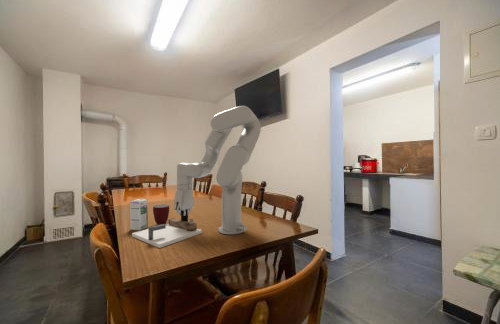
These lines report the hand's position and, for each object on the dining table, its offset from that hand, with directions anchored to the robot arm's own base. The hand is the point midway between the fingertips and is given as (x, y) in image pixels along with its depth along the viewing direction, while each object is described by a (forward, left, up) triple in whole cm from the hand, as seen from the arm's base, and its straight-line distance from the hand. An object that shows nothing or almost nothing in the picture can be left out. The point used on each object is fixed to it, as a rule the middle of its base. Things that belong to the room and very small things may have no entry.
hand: (184, 222), depth 113 cm
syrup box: (+18, +14, -3) cm, 23 cm away
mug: (+16, +3, -3) cm, 16 cm away
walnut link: (-3, +3, -1) cm, 4 cm away
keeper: (-6, +19, -1) cm, 20 cm away
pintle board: (-2, +11, -3) cm, 12 cm away
